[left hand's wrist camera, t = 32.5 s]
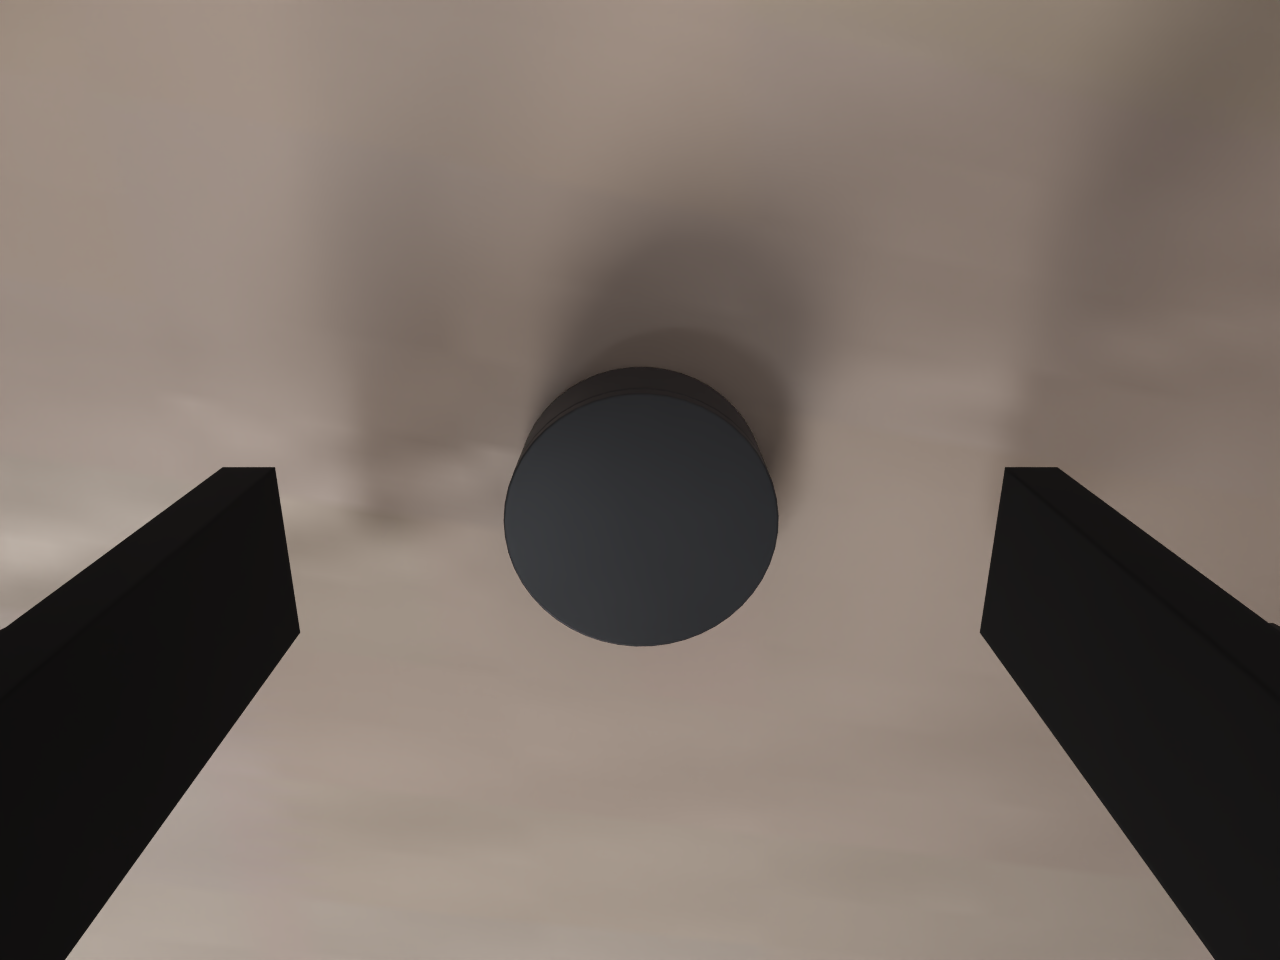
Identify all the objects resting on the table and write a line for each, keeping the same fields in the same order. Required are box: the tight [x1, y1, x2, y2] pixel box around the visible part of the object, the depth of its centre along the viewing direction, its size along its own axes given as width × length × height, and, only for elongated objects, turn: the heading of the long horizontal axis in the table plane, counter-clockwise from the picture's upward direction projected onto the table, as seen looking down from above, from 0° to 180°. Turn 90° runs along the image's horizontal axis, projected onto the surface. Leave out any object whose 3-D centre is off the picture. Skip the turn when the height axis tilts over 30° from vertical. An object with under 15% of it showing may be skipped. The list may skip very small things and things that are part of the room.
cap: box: [504, 367, 778, 646], centre depth 15 cm, size 4×4×2 cm
